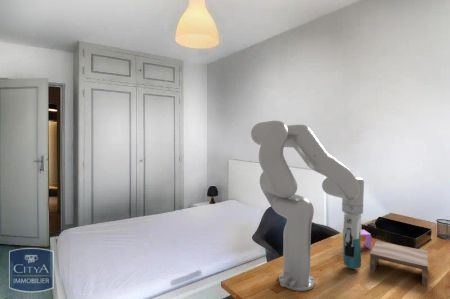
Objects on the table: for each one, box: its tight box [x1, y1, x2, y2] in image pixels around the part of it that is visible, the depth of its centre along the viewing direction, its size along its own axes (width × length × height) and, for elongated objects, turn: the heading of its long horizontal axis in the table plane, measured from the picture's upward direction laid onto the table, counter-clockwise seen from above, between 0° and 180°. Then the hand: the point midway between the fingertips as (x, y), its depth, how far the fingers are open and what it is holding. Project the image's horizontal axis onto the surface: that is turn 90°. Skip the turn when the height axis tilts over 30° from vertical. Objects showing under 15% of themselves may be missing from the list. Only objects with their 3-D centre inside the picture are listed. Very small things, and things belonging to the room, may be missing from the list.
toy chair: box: [360, 229, 373, 251], centre depth 128 cm, size 8×9×15 cm
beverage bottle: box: [342, 220, 362, 269], centre depth 106 cm, size 6×7×20 cm
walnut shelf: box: [369, 240, 429, 287], centre depth 106 cm, size 16×18×7 cm
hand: (351, 252), depth 106 cm, fingers open, 5 cm apart
